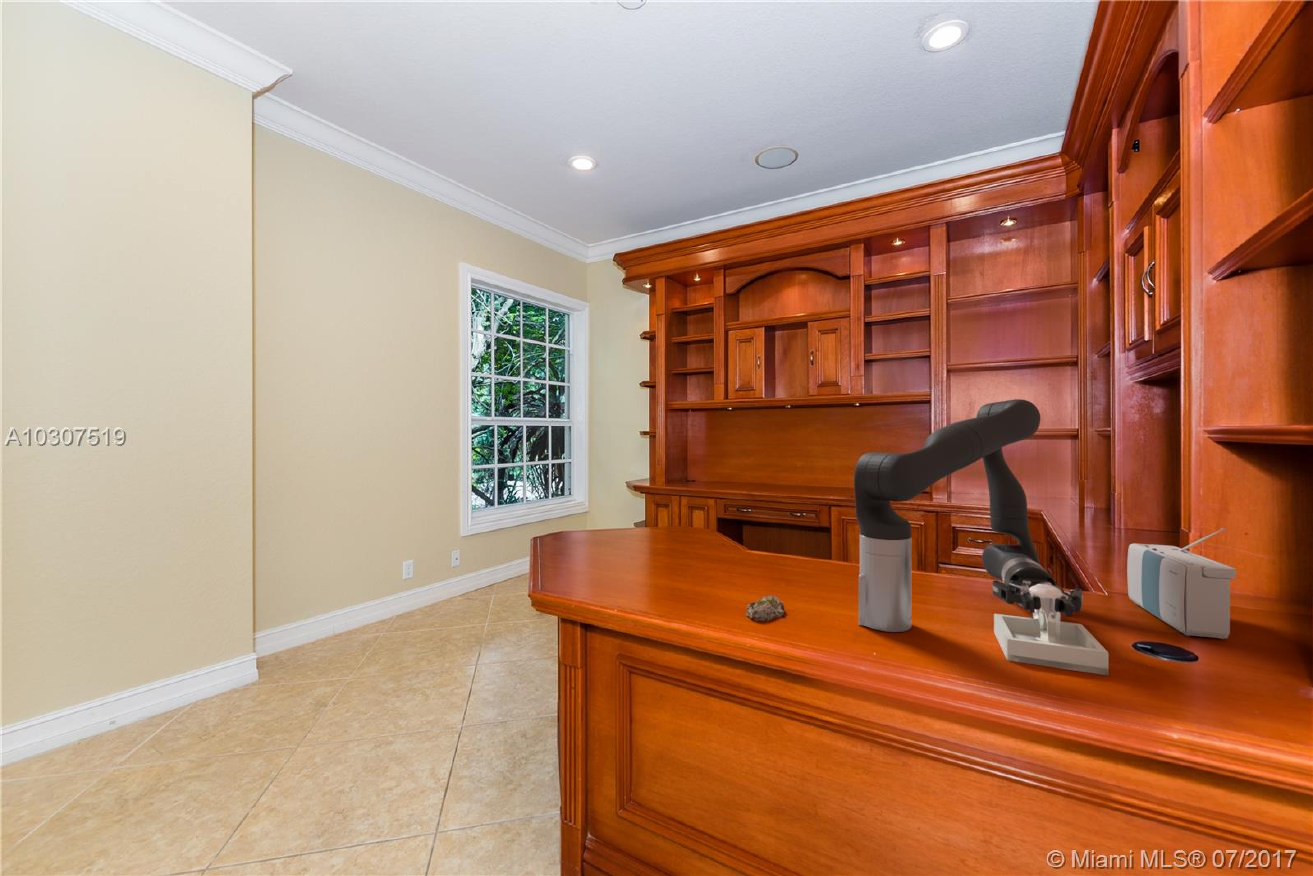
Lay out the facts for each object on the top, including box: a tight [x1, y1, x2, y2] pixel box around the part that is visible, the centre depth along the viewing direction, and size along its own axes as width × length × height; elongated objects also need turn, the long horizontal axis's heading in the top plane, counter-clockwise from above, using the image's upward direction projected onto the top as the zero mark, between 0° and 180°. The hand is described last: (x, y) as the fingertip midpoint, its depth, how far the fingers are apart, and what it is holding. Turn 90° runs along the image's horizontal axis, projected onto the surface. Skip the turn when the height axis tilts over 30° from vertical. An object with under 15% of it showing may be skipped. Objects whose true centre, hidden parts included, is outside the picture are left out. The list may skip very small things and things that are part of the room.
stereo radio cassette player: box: [1126, 527, 1237, 640], centre depth 103 cm, size 21×8×20 cm, turn 159°
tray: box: [993, 613, 1109, 676], centre depth 89 cm, size 13×13×4 cm
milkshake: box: [1023, 580, 1062, 643], centre depth 89 cm, size 4×5×10 cm
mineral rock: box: [745, 594, 786, 622], centre depth 108 cm, size 11×4×8 cm
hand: (1050, 608), depth 86 cm, fingers closed on milkshake, 4 cm apart
